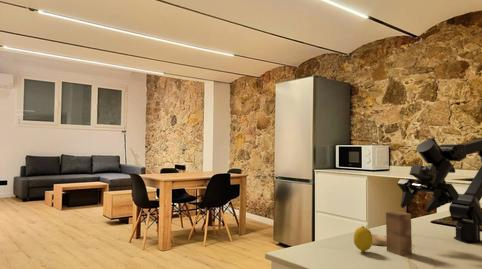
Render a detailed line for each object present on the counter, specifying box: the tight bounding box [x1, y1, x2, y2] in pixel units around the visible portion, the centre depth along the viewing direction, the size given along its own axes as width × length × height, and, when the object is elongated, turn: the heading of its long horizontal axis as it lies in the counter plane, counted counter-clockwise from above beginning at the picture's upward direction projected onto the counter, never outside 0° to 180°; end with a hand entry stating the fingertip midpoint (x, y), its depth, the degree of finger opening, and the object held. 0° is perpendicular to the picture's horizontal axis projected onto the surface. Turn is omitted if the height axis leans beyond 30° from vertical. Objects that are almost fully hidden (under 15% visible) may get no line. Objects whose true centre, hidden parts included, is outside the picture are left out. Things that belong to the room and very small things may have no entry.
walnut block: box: [385, 210, 413, 256], centre depth 108 cm, size 5×5×12 cm
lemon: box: [353, 225, 373, 253], centre depth 108 cm, size 6×6×8 cm
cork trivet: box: [371, 233, 387, 247], centre depth 121 cm, size 11×11×1 cm
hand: (413, 209), depth 111 cm, fingers open, 9 cm apart
